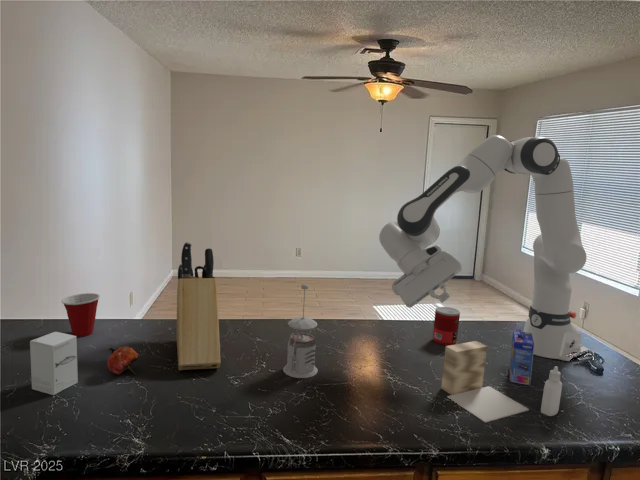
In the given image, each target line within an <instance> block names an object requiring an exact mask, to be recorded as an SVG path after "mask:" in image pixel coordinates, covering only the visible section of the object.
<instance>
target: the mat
mask: <svg viewBox="0 0 640 480" xmlns="http://www.w3.org/2000/svg"><path fill="white" fill-rule="evenodd" d="M447 398H448V399H449V400H450V399H451V401H452V402H453V401H454V403H455V404H456V403H457V405H458V406H460V407H461V408H462V409H464V410H466V411H467V412H468V413H470V414H471V415H473V416H474V417H476V418H478V419H479V420H480V421H482V422H483V423H485V424H486V423H489V422H493V421H497V420H500V419H504V418H508V417H510V416H514V415H518V414H521V413H524V412H528V411H529V410H530V409H529V408H528V407H526V406H524V405H522V404H521V403H520V402H517V401H515V400H514V399H512V398H510V397H509V396H507V395H505V394H503V393H502V392H500V391H498V390H497V389H495V388H493V387H491V386H490V385H488V386H484V387H483V386H482V388H479V389H475V390H471V391H467V392H463V393H458V394H454V395H451V394H450V395H447Z"/></svg>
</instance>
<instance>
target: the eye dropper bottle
mask: <svg viewBox="0 0 640 480" xmlns="http://www.w3.org/2000/svg"><path fill="white" fill-rule="evenodd" d="M561 376H562V373H561V372H560V371H559V366H556V365H555V366H553V369H550V370H549V377H548V379H546V381H545V383H544V386H543V393H542V399H541V407H540V413H542V414H543V415H545V416H548V417H553V416H555V415H557V414H558V412H559V409H560V403H561V397H562V388H563V383H562V381H561Z"/></svg>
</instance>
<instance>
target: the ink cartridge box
mask: <svg viewBox="0 0 640 480" xmlns="http://www.w3.org/2000/svg"><path fill="white" fill-rule="evenodd" d="M510 349H511V350H510V359H509V369H508V370H509V380H510V381H509V382H510V383H515V384H520V385H526V386H531V380H532V370H533V361H534V354H533V352H534V341H533V337H532V333H527V332H523V331H522V329H521V328H520V326H518V330H513V331H512V339H511V348H510Z"/></svg>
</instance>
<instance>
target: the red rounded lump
mask: <svg viewBox="0 0 640 480" xmlns="http://www.w3.org/2000/svg"><path fill="white" fill-rule="evenodd" d="M108 351H111V355H110V356H109V357H108V358H107V367H108V370H109V371H110V373H112V374H114V375H118V376H119V375H121V374H122V373H123V372H124V371H126V370H128V369H129V371H131V372H132V373H133V374H134V375H135V376H137V373H135V371H134V370H133V369H132V368H131V366H132V365H133V364H134V363H135V362H136V361H137V360H138V357H139V354H138V352H137V351H135V349H133V347H130V346H121V347H118V348H117V349H113V347H110V348H109V349H108Z"/></svg>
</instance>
